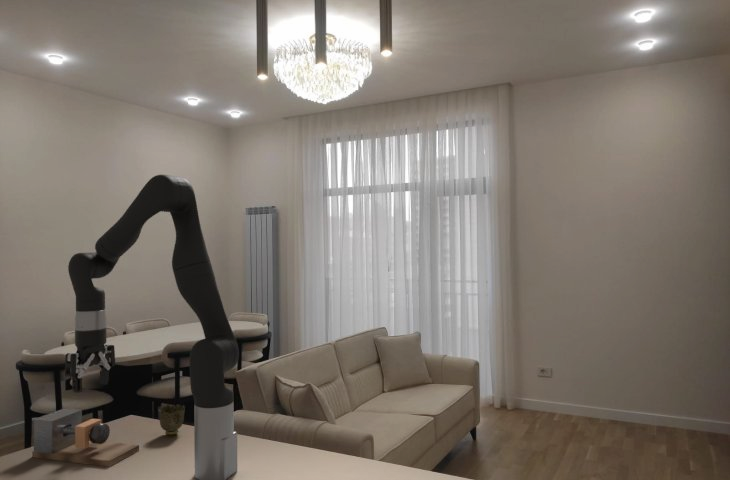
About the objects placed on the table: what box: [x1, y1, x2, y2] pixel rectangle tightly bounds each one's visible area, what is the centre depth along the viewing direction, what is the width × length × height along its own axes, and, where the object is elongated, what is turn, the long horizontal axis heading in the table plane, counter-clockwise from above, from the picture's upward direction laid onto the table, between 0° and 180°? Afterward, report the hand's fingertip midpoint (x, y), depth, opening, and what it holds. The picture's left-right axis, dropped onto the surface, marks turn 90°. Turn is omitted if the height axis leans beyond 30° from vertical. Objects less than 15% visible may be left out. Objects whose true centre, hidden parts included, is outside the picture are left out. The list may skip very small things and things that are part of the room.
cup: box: [157, 403, 186, 437], centre depth 158 cm, size 8×7×8 cm
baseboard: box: [31, 440, 140, 468], centre depth 144 cm, size 24×11×2 cm, turn 74°
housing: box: [33, 407, 83, 454], centre depth 146 cm, size 6×10×8 cm, turn 164°
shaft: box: [63, 423, 111, 444], centre depth 144 cm, size 12×5×5 cm, turn 74°
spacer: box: [75, 418, 103, 449], centre depth 143 cm, size 3×6×6 cm, turn 164°
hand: (91, 388), depth 143 cm, fingers open, 8 cm apart
